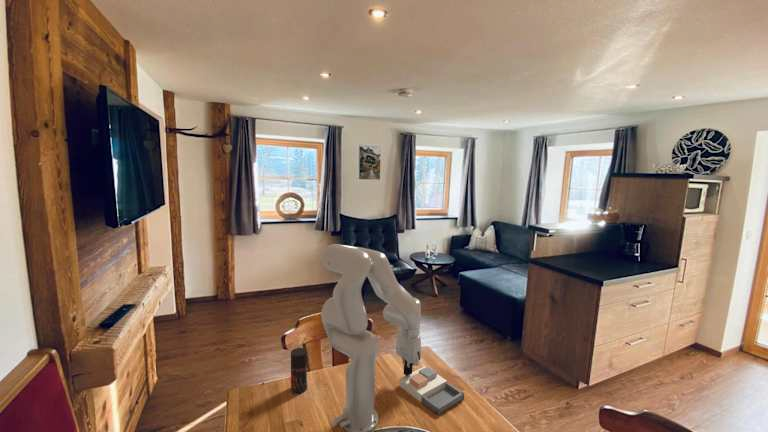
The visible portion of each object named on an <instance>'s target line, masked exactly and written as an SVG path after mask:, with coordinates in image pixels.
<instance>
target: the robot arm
mask: <svg viewBox="0 0 768 432" xmlns="http://www.w3.org/2000/svg"><path fill="white" fill-rule="evenodd" d="M321 262H322V265H323V266H324V268H326V270H328V271H331V272H334V273H338V274H341V277H340V278H339V280H338V282H337V283H336V285H335V286H334V288H333V292H332V297H329V298H328V299H326V300H325V302H324V304H323V306H322V307H321V321H322V325H323V328H324V331H325V333H326V337H327V340H328V342H329V344H330V345H331V347H332V348H333V349H335V350H336V351H338V352H340V353H342V354H344V355H346V357H349V358H350V359H351V362H350V363H348V366H347V368H346V370H345V408H342V413H341V414H340V415H339V416H336V417H335V418H332V420H331V423H332V425H333V426H337V425H338V424H339V427H340V428H343V429H344V430H345V431H347V432H372V431H373V430H375V429H376V427H377V425H378V424H379V414H378V412H377V410H376V409H375V388H376V387H375V386H376V365H377V359H378V356H379V355H378V354H379V351H380V340H379V339H378V337H377V336H376V335H375V334H374V333H373V332H371V331H370V330H367V328H368V324H369V321H368V315H367V311H366V307H365V304H364V299H363V296H362V287H363V284H364V282H365V280H366V279H368V281H369V283H370V285H371V287H372V289H373V291H374V293H375V295H376V296H377V297H378V298H380V299H381V300H382V301H383V302H385V303H386V305H385V306H384V308H383V310H382V316H383V318H384V320H385V321H387V322H388V323H390V324H393V325H395V326H398V327H399V330H398V333H397V336H396V342H395V343H396V344H395V354H396V355H397V356H399V357H400V359H402V364H403V375H404V376H408V375H410V374H412V372H413V366H416V367H418V366H420V361H421V359H422V339H421V335H420V332H421V329H420V328H421V321H422V314H421V309H422V304H421V303H422V302H421V301H420V299H418V298H416V297H413V296H412V294H411V293H409V291H407V290H406V289H405V288H404V286H402V285H401V284H400V283H399V282H398V280H397V278H396V275H395V274H394V271H393V268H392V266H391V264H390V262H389V260H388V257H387V256H386V254H385V253H383V252H381V251H378V250H374V249H370V248H366V247H361V246H352V245H345V244H339V243H333V244H329V245H328V246H326V248H324V250H323V252H322V254H321Z"/></svg>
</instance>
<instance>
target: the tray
mask: <svg viewBox="0 0 768 432" xmlns="http://www.w3.org/2000/svg"><path fill="white" fill-rule="evenodd" d="M464 400H465V392H463V391H462V390H460V389H458V388H457V387H456V386H454V385H453V384H451V383H449V382H448V381H447V383H446V388H444V389H443V390H441V391H439V392H437V393H436V394H434V395H432V396H430V397H429V398H427V397H425V396H422V402H421V404H422V405H424V406H425V407H426V408H428V409H429V410H430V411H432V412H433V413H434V414H435V415H437V416H440V415H441V414H443V413H445V412H446V411H448V410H449V409H451V408H453V407H454V406H456V405H458V404H459V403H461V402H462V401H464Z"/></svg>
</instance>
